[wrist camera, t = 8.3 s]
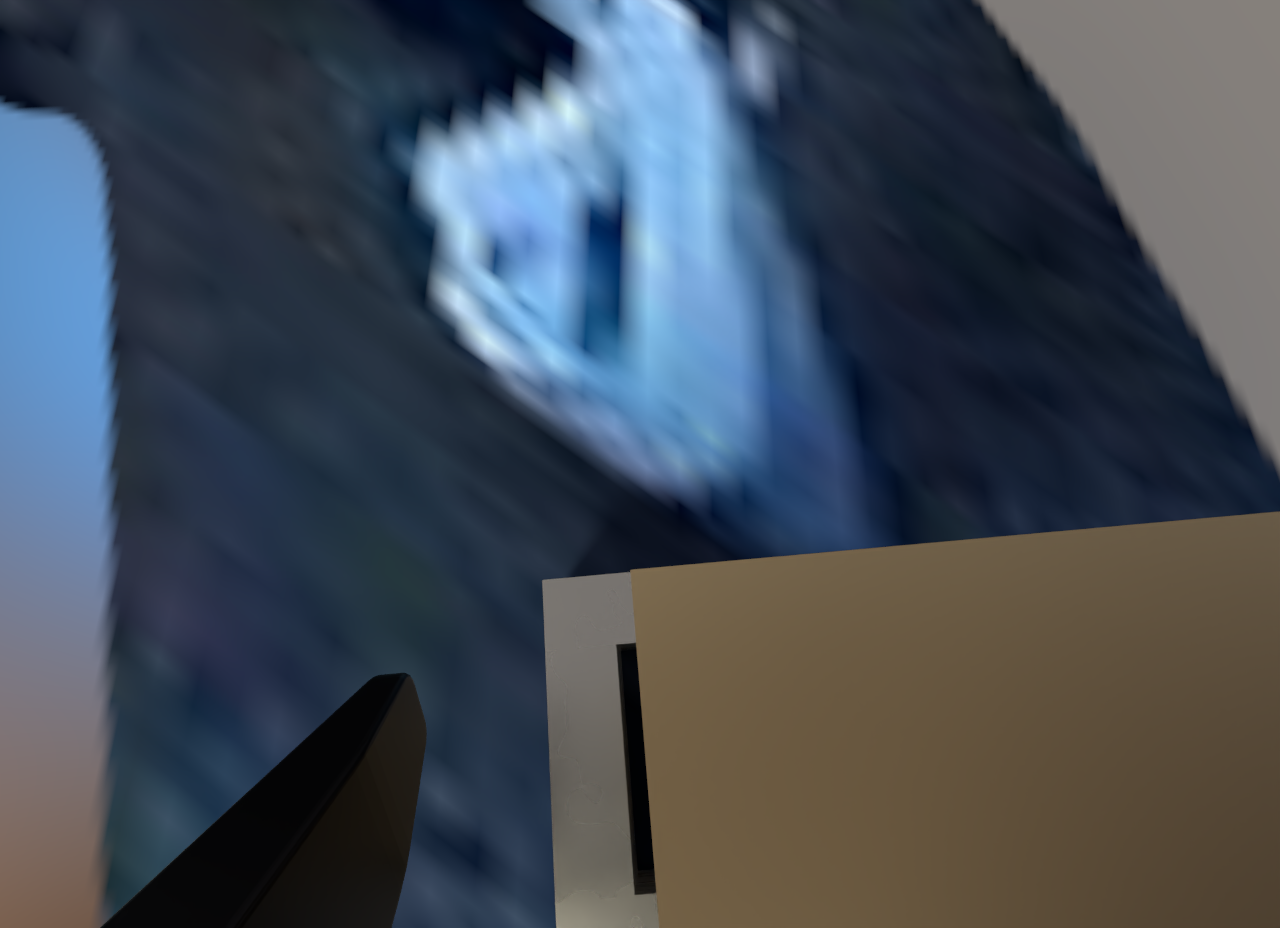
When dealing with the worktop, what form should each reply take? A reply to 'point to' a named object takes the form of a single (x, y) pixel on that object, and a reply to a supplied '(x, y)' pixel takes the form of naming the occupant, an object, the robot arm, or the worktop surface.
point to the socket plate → (592, 755)
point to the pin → (970, 732)
